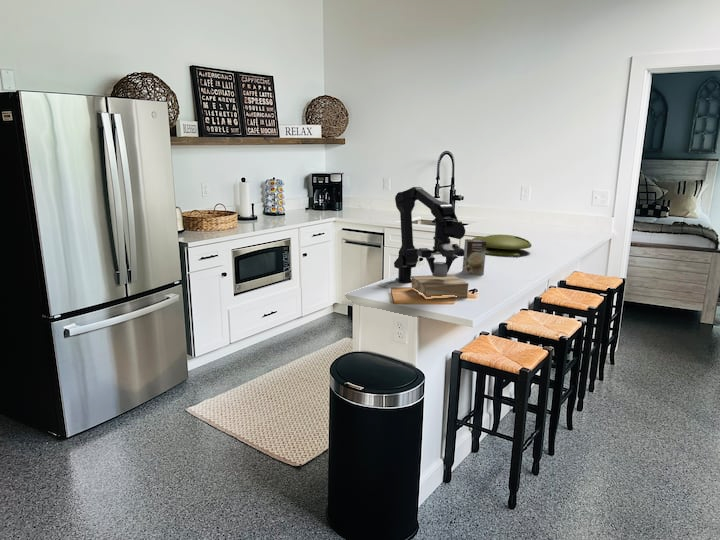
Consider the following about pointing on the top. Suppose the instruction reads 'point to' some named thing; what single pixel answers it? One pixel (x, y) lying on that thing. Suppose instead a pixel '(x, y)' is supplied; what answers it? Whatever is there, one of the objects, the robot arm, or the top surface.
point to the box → (441, 290)
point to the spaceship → (504, 244)
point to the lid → (439, 281)
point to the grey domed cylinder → (440, 269)
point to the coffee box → (474, 257)
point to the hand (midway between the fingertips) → (439, 272)
